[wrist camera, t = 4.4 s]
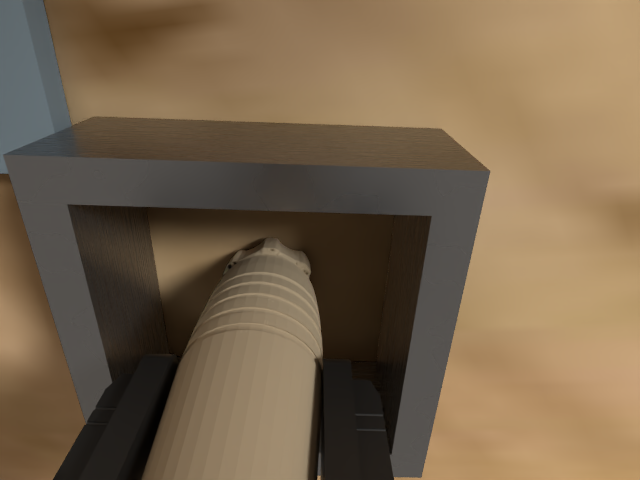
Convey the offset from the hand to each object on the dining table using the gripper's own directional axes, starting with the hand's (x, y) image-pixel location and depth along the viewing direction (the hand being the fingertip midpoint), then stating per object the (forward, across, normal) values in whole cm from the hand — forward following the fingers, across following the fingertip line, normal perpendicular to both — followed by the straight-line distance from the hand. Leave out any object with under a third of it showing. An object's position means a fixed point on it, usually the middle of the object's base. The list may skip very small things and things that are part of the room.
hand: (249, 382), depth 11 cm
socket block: (+6, 0, 0) cm, 6 cm away
